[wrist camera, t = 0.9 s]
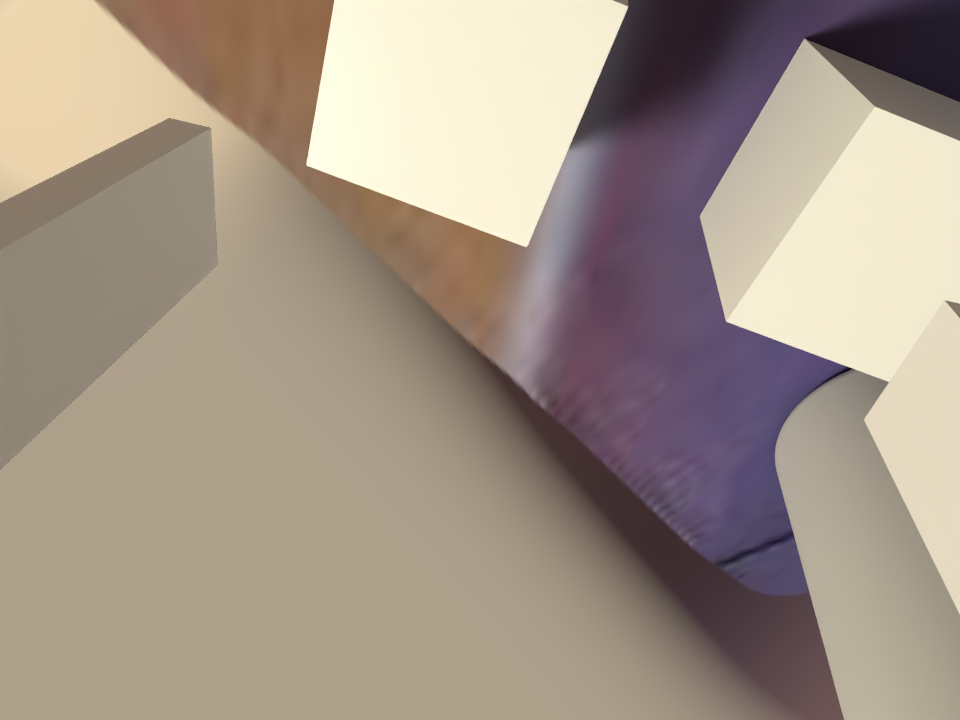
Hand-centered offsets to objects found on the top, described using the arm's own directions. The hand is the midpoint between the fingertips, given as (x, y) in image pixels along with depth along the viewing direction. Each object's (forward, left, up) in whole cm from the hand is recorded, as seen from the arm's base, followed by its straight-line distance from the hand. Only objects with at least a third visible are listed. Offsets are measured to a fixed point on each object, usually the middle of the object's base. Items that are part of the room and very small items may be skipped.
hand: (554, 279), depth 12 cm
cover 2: (+1, +12, -20) cm, 23 cm away
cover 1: (+1, -4, -20) cm, 20 cm away
